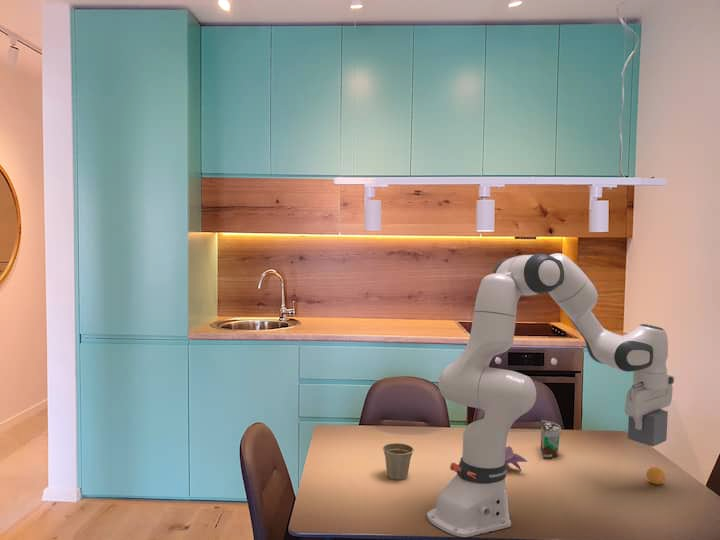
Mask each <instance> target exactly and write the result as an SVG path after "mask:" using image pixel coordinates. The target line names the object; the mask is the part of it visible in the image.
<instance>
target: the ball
mask: <svg viewBox="0 0 720 540" xmlns="http://www.w3.org/2000/svg"><path fill="white" fill-rule="evenodd" d="M646 478H647V481H649V482H650V483H651V484H652V485H662V484H663V483H664V482H665V480H666V475H665V472H664V470H663V469H661V468H660V467H657V466H651V467H649V468H648V469H647V470H646Z"/></svg>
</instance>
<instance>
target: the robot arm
mask: <svg viewBox="0 0 720 540" xmlns="http://www.w3.org/2000/svg"><path fill="white" fill-rule="evenodd" d="M544 294H549V296H550V297H551V298H552V300H553V301H554V302H555V303H556V305H558V307H559V308H560V309H561V310H562V311H563V312H564V313H565V315H567V317H568V318H569V320H570V322H571V323H572V324H573V325H574V327H575V328H576V330H577V331H578V333H580V335H581V337H583V340H584V342H585V345H586V349H587V352H588V355H589V356H590V357H591V359H592V360H594V361H595V362H597V363H600V364H603V365H606V366H608V367H611V368H614V369H616V370H619V371H622V372H628V373H629V372H632V373H633V375H632V376H633V377H632V386H631V388H630V389H628V390H627V392H626V397H625V403H624V413H625V415H626V416H627V417H629V416H631V417H633V418H634V421H635V428H636V429H638V430H641V429H643V428H644V423H642V418H643V415H645V414H648V413H651V412H654V411H656V410H659V409H660V410H664V409H665V408H667V407H669V406H670V405H671V403H672V399H673V391H674V390H673V387H674V386H673V384H674V383H675V377H674V376H673V375H670V374H668V369H667V368H668V367H667V364H666V363H667V360H668V356H669V339H668V333H667V332H666V330H665V329H664V328H662V327H660V326H656V325H651V324H647V323H641V324H637V327H636V328H635V329H634V330H632V331H630V332H629V333H627V334H624V335H620V334H618V333H615V332H613V331H610V330H608V329H606V328H604V327H603V326H602V324H601V323H600V321H598V319H597V317H596V316H595V314H594V313H593V312H592V310H593V309H594V308H595V306H597V302H598V298H599V294H598V291H597V288H596V287H595V285H594V283H593V282H592V281H591V280H590V278H589V277H588V276H587V275H586V274H585V273H584V272H583V269H581V268H580V267H579V266H578V265H577V264H576V262H574V261H573V260H572V259H570V258H569V257H568V256H566V254H563V253H561V252H560V253H559V252H556V253H552V254H546V253H545V254H544V253H535V254H519V255H518V256H513V257H508V258H504V259H502V260H501V261H500V262H499V263H498V264H496V266H495V267H494V269H493V271H492V273H490V274H487V275H486V276H484V277H483V278H482V279H481V282H480V284H479V287H478V290H477V294H476V298H475V304H474V309H473V318H472V325H471V330H470V334H469V339H468V341H467V345H466V346H465V347H464V350H463V351H462V353H461V354H460V355H459V356H458V357H457V358H456V359H455V360H454V361H453V362H451V363H449V364H447V365H446V366H445V367H444V368H443V370H442V371H441V373H440V375H439V378H438V389H439V392H440V395H441V396H442V397H443V398H444V399H445V400H446V401H450V402H452V403H455V404H457V405H460V406H465V407H468V408H469V407H470V408H474V409H480V410H483V411H484V417H483V418H481V419H478V420H476V421H472V422H471V423H469V424H468V425H467V426H466V427H465V428H464V430H463V432H462V433H463V434H462V450H461V451H462V455H461V457H460V461H459V464H457V463H456V462H451V463H450V465H449V469H450V471H454V473H456V474H455V476H453V478H452V479H451V480H450V481H449V482H448V483H447V484H446V486H445V487H444V488H443V489H442V490H441V491H440V492H439V493H438V495H437V500H436V507H434V508H433V509H430V510H429V511H427V513H426V518H427V520H428V521H429V522H430V523H431V524H432V525H433V526H435V527H437V528H438V529H440V530H442V531H443V532H445V533H448V534H450V535H453V536H455V537H460V538H469V537H474V536H477V535H482V534H486V533H489V532H490V531H491V532H494V531H495V532H496V531H499V530H503V529H506V528H511V527H512V521H511V519H510V512H509V502H508V501H509V498H508V490H507V486H506V480H505V479H506V477H507V471H508V468H507V464H506V461H505V451H506V447H507V439H508V435H509V432H510V429H511V427H512V425H513V424H514V423H515V421H517V420H518V419H519V418H520V417H521V416H523V415H525V414H527V413H528V412H529V411H530V410H531V409H532V408H533V406H534V405H535V403H536V400H537V389H536V388H537V387H536V386H535V383H534V381H533V379H532V377H530V376H528V375H525V374H523V373H520V372H517V371H516V370H509V369H504V368H496V367H490V363H491V361H492V359H493V358H494V357H495V356H497V355H501V354H503V353H506V352H508V350H510V349H511V348H512V346H513V345H514V337H515V329H516V323H517V322H516V320H517V311H518V308H517V307H518V302H519V300H520V298H521V296H525V297H529V296H535V295H544ZM481 533H482V534H481Z"/></svg>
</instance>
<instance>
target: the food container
mask: <svg viewBox="0 0 720 540" xmlns="http://www.w3.org/2000/svg"><path fill="white" fill-rule="evenodd" d="M540 427H541V428H540V429H541V430H540V451H541V452H542V453H541V452H540V453H541V456H542V459H543V460H553V459H552V458H555V457H556V458H557V457H558V453H559V452H558V451H559V444H560V436H562V435H563V432H562V431H563V430H562V427H561V425H560V424H558V423H556V422H553V421H549V420H543V419H542V420H541V423H540ZM556 458H555V459H556Z"/></svg>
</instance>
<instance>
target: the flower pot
mask: <svg viewBox="0 0 720 540" xmlns="http://www.w3.org/2000/svg"><path fill="white" fill-rule="evenodd" d="M382 450H383V454H384V457H385V459H384V460H385V466H386V475H387V477H388V479H391V480H392V479H393V480H396V481H401V480H406V478H407V477H408V475H409V469H410V464H411V459H412V458H411V457H412V456H413V452H414V451H415V449H414V447H413V446H412V445H409V444H406V443H401V442H394V443H393V442H391V443H387V444H384V445H383V446H382Z"/></svg>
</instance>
